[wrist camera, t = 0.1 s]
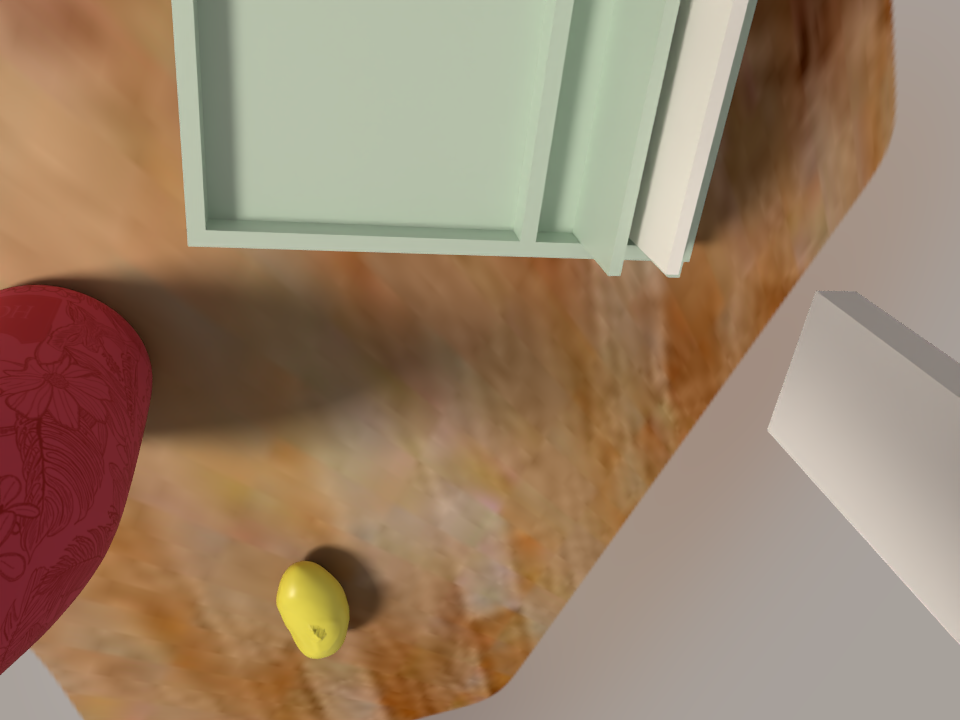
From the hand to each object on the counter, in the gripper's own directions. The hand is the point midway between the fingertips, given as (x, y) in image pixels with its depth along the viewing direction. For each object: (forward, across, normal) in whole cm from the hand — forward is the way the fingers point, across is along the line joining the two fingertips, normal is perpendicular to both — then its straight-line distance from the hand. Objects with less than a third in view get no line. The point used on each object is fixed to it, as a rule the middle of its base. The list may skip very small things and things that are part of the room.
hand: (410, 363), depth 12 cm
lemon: (+28, 0, -33) cm, 43 cm away
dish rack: (+28, +6, 0) cm, 29 cm away
